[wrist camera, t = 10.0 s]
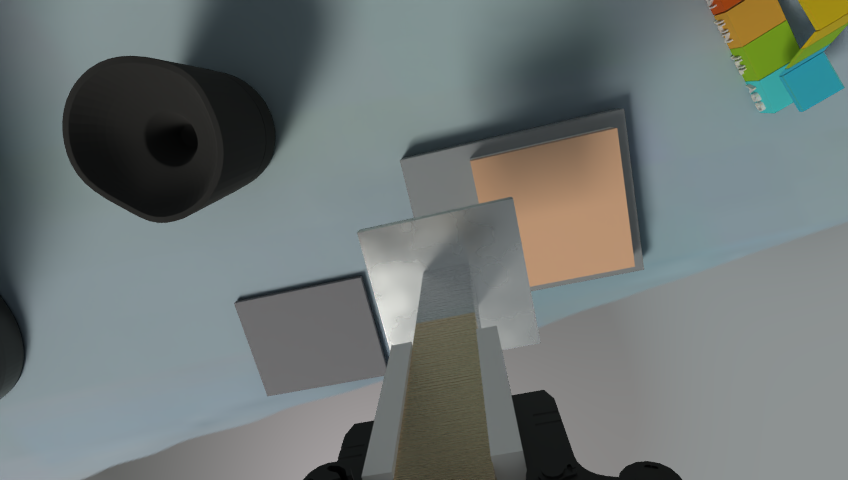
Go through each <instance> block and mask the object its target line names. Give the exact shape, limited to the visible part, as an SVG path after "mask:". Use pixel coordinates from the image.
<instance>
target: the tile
mask: <svg viewBox="0 0 848 480" xmlns="http://www.w3.org/2000/svg"><path fill="white" fill-rule="evenodd" d="M470 163H471V168H472V173H473V178H474V183H475V187H476V192H477V197H478V202H479V204H480V203H484V202H489V201H494V200H498V199H503V198H507V197H512V198H513V200H514V205H515V211H516V216H517V221H518V227H519V232H520V237H521V242H522V248H523V253H524V258H525V264H526V269H527V274H528V279H529V285H530V287H532V286H537V285H542V284H547V283H552V282H558V281H563V280H568V279H573V278H578V277H584V276H589V275H594V274H599V273H604V272H610V271H615V270H620V269H625V268H630V267H635V262H634V255H633V247H632V239H631V231H630V223H629V216H628V208H627V200H626V192H625V185H624V177H623V169H622V161H621V153H620V146H619V138H618V130H617V128H614V127H607V128H603V129H599V130H594V131H590V132H585V133H581V134H577V135H572V136H568V137H563V138H559V139H555V140H550V141H546V142H541V143H537V144H533V145H528V146H524V147H519V148H515V149H510V150H506V151H502V152H497V153H493V154H488V155H484V156H480V157H475V158H471V159H470Z"/></svg>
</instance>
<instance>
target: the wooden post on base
mask: <svg viewBox="0 0 848 480" xmlns="http://www.w3.org/2000/svg"><path fill="white" fill-rule="evenodd" d="M357 234H358V238H359V241H360V245H361V248H362V252H363V256H364V259H365V263H366V266H367V270H368V273H369V277H370V281H371V284H372V288H373V291H374V295H375V298H376V302H377V306H378V309H379V313H380V316H381V320H382V324H383V327H384V331H385V334H386V338H387V341H388V345H389V349H390V350H391V346H392V345H397V344H402V343H407V342H412V345H413V349H412V355H411V362H410V369H409V376H408V383H407V390H406V397H405V404H404V411H403V418H402V425H401V432H400V439H399V446H398V453H397V460H396V467H395V473H394V479H393V480H497V479H496V474H495V470H494V466H493V463H492V460H491V456H490V447H489V438H488V429H487V421H486V412H485V403H484V395H483V386H482V377H481V368H480V360H479V351H478V342H477V334H476V329H481V328H486V327H491V326H497V329H498V334H499V338H500V343H501V348H502V350H506V349H511V348H516V347H522V346H527V345H533V344H538V343H540V338H539V332H538V327H537V322H536V316H535V311H534V306H533V301H532V295H531V290H530V285H529V279H528V274H527V269H526V264H525V258H524V253H523V248H522V242H521V237H520V232H519V227H518V221H517V216H516V211H515V205H514V200H513V198H512V197H507V198H503V199H498V200H494V201H489V202H484V203H480V204H475V205H471V206H466V207H462V208H457V209H452V210H448V211H443V212H439V213H434V214H429V215H425V216H420V217H416V218H411V219H407V220H402V221H397V222H393V223H388V224H384V225H379V226H374V227H370V228H365V229H361V230H359V231H358V232H357Z"/></svg>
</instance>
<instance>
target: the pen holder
mask: <svg viewBox="0 0 848 480" xmlns="http://www.w3.org/2000/svg"><path fill="white" fill-rule="evenodd" d="M63 138H64V144H65V148H66V152H67V155H68V158H69V160H70V162H71V165H72V166H73V168H74V170H75V171H76V173H77V174H78V176H79V177H80V178H81V179H82V180H83V181H84V183H85V184H87V185H88V186H89V187H90V188H91V189H93V190H94V191H95V192H97V193H98V194H100V195H101V196H103V197H104V198H106V199H108V200H109V201H111V202H113V203H115V204H116V205H118V206H120V207H122V208H124V209H126V210H128V211H129V212H131V213H133V214H135V215H137V216H139V217H141V218H143V219H146V220H148V221H152V222H157V223H167V222H172V221H177V220H180V219H183V218H185V217H187V216H189V215H191V214H193V213H195V212H197V211H199V210H201V209H202V208H204V207H206V206H208V205H210V204H212V203H214V202H216V201H218V200H220V199H221V198H223V197H225V196H227V195H229V194H231V193H233V192H235V191H237V190H238V189H240V188H242V187H244V186H245V185H247V184H249V183H250V182H252V181H253V180H255V179H256V178H257V177H258V176H259V175H260V174H261V173H262V172H263V171H264V170H265V168H266V167H267V165H268V164H269V162H270V160H271V157H272V155H273V151H274V146H275V128H274V123H273V119H272V116H271V114H270V111H269V109H268V107H267V105H266V103H265V102H264V100H263V99H262V98H261V96H260V95H259V94H258V93H257V92H256V91H255V90H254V89H253V88H252V87H251V86H250V85H248V84H247V83H245V82H244V81H242V80H240V79H238V78H236V77H235V76H232V75H229V74H226V73H222V72H218V71H213V70H209V69H204V68H199V67H194V66H189V65H184V64H179V63H174V62H169V61H164V60H159V59H154V58H148V57H139V56H121V57H115V58H111V59H107V60H105V61H102V62H99V63H98V64H96V65H94V66H93V67H91V68H90V69H88V70H87V71H86V72H85V73H84V74H83V75H82V76H81V77H80V78H79V79H78V80H77V82H76V83H75V84H74V86H73V88H72V89H71V91H70V93H69V96H68V98H67V100H66V104H65V108H64V113H63Z"/></svg>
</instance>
